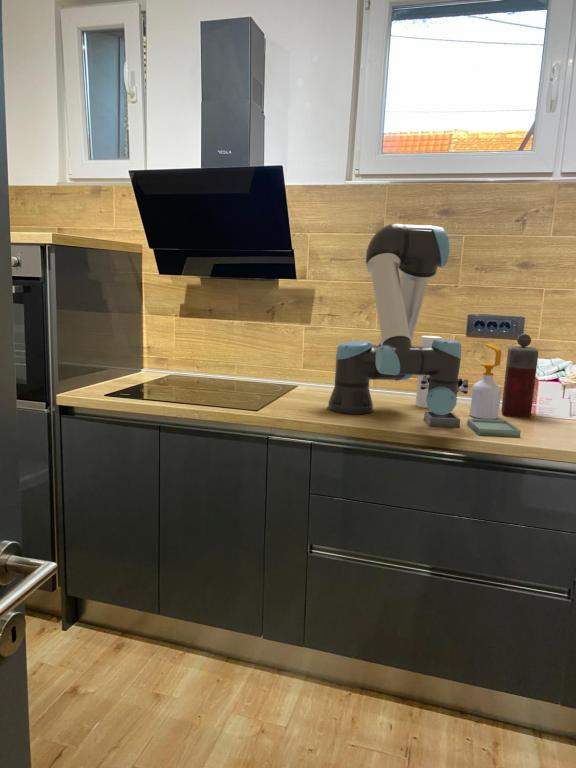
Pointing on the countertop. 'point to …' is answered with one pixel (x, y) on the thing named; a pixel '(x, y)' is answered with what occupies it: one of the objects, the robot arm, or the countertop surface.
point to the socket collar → (441, 419)
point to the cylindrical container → (422, 394)
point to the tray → (493, 427)
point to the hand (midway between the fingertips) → (446, 377)
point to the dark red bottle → (520, 379)
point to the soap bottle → (487, 392)
